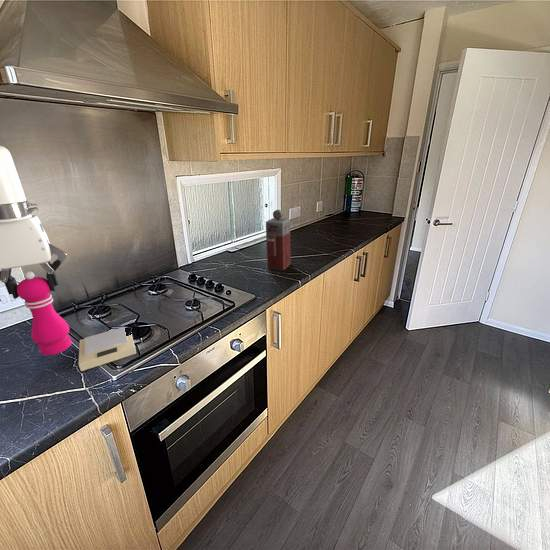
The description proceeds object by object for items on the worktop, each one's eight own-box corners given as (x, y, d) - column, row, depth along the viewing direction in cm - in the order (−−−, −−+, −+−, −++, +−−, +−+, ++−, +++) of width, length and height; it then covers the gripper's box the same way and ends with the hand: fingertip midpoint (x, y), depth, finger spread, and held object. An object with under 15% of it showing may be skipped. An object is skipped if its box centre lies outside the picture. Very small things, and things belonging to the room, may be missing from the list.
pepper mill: (77, 336, 76) (52, 263, 68) (70, 352, 69) (42, 275, 62) (44, 342, 73) (14, 268, 65) (33, 360, 67) (-1, 280, 59)
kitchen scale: (81, 371, 79) (77, 362, 78) (81, 346, 90) (79, 338, 89) (136, 353, 86) (134, 345, 85) (131, 332, 96) (129, 324, 95)
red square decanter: (265, 269, 143) (262, 212, 132) (274, 261, 152) (272, 207, 141) (282, 272, 140) (280, 213, 129) (290, 264, 149) (290, 208, 138)
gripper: (59, 205, 66) (81, 278, 73) (-46, 213, 58) (-10, 295, 65) (56, 210, 60) (80, 289, 67) (-62, 220, 52) (-20, 309, 59)
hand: (35, 291), depth 66 cm, fingers closed on pepper mill, 6 cm apart
